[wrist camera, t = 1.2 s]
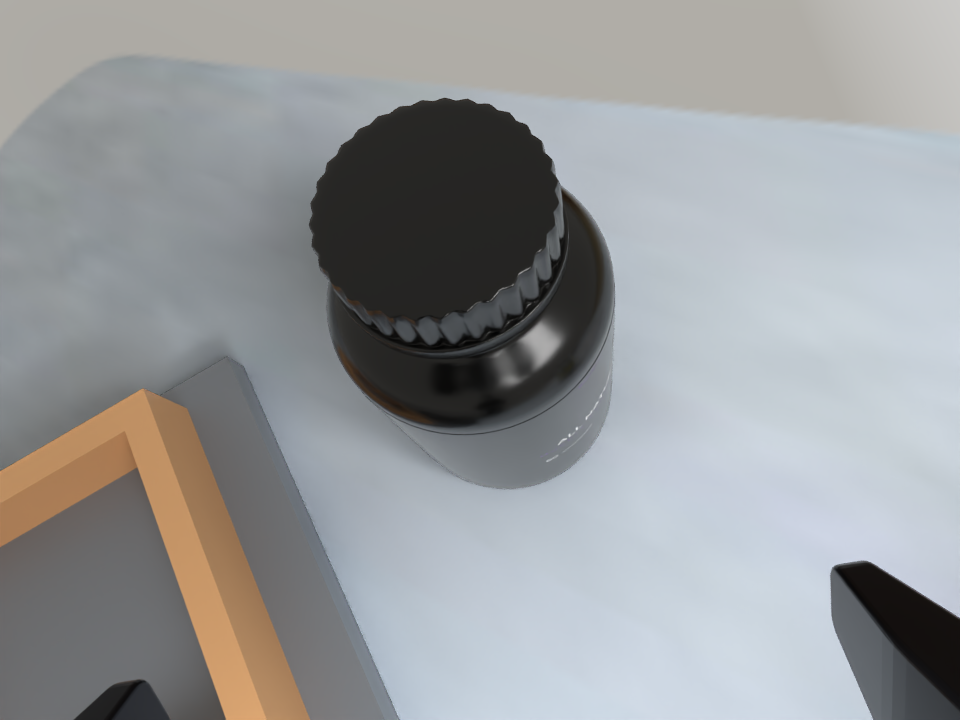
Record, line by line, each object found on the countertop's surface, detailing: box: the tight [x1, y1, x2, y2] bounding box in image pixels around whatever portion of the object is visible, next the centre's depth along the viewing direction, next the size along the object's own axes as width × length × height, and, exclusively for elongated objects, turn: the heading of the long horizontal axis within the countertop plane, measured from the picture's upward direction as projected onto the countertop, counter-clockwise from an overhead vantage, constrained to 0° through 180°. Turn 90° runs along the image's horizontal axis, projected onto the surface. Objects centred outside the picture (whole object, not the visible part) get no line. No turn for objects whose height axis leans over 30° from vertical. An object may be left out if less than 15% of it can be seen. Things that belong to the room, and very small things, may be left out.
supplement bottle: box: [309, 98, 615, 489], centre depth 19 cm, size 7×7×12 cm
